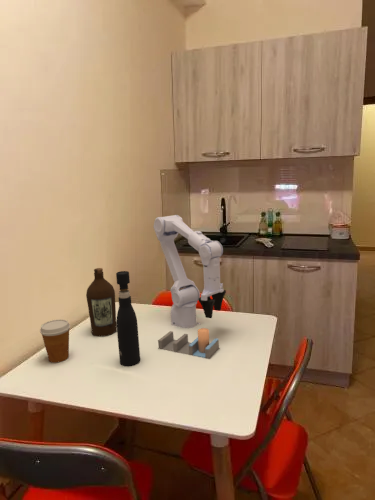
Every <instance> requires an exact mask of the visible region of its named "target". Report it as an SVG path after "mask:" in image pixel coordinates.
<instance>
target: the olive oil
mask: <svg viewBox="0 0 375 500" xmlns="http://www.w3.org/2000/svg"><path fill="white" fill-rule="evenodd" d="M93 271H94V273H93V276H94V279H93V281H92V282H91V283H90V284H89V286H88V287H87V289H86V296H85V297H86V303H87V308H88V314H89V321H90V329H91V333H92V335H93V336H95V337H107V336H111V335H113V334H115V333H117V325H116V321H117V311H116V291H115V288H114V286H113V284H111V283H110V282H109V281H108V280H107V279H105V278H104V277H105V276H104V270H103V267H97V268H94V269H93Z"/></svg>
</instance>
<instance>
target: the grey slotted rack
mask: <svg viewBox="0 0 375 500" xmlns="http://www.w3.org/2000/svg"><path fill="white" fill-rule="evenodd" d="M174 337H175V336H174V331H172V330H170V331H169V332H167V333H166V334H165V335H163V336H162V337H160V338H159V339H158V340H157V342H158V347H157V349H158V350H163V351H168V352H173V353H179V354H183V355H188V356H192V357H198V358H202V359H208V360H211V358H212V357H213V356H215V355H216V353H217V352H218V351H219V350H220V340H219V338H216V337H215V338H214V339H213V340H212V341H211V342H209V345H208V346H207V347H206V348H205V353H200V352H199V347H198V336H197V337H196V338H195V339H194V340H193V341H192V342H189V334H187V333H183V334H182V335H181V336H180V337H179V338H177V339H174Z"/></svg>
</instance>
